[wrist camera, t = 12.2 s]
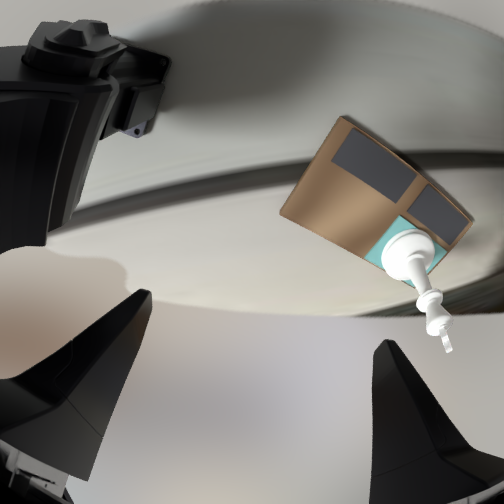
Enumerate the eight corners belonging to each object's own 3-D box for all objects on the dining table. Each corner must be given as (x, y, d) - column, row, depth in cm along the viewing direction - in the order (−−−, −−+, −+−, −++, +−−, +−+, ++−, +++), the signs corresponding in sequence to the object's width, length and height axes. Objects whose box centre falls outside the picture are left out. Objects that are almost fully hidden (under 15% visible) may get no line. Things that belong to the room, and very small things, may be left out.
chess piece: (422, 218, 20) (479, 311, 12) (438, 259, 22) (483, 348, 14) (372, 247, 22) (405, 350, 14) (393, 284, 24) (422, 379, 16)
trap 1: (406, 210, 20) (407, 212, 20) (427, 183, 18) (428, 184, 18) (448, 244, 21) (449, 245, 21) (468, 221, 19) (469, 222, 19)
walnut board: (279, 210, 22) (279, 214, 21) (339, 115, 17) (341, 117, 16) (412, 284, 24) (414, 288, 24) (470, 220, 20) (473, 223, 19)
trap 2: (331, 160, 18) (331, 161, 18) (352, 127, 17) (353, 128, 17) (395, 202, 19) (395, 203, 19) (416, 174, 18) (417, 175, 18)
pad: (364, 257, 23) (364, 258, 22) (399, 214, 20) (400, 216, 20) (413, 285, 24) (414, 287, 24) (446, 250, 21) (447, 252, 21)
